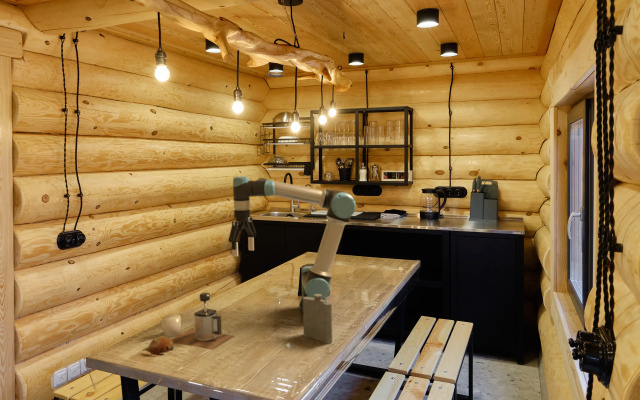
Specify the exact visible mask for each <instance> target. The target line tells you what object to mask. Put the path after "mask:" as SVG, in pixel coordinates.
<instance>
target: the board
mask: <svg viewBox="0 0 640 400" xmlns="http://www.w3.org/2000/svg"><path fill="white" fill-rule="evenodd" d="M234 337H235V335H231V334H226V333H222V334H220V335H218V337H217V338H216V339H214V340H211V341H197V340H196V339H195V328H193V327H192V328H191V329H188V330H187V331H184V332H181V334H180V335H179V336H176V337H172V339H171V338H170V339H171V340H172V341H173V343H176V344H177V343H178V344H181V345H187V346H193V347H197V348H202V349H207V350H212V351H214V349H217V348H218V347H221V345H223V344H224V343H226V342H228V341H229V340H231V339H232V338H234Z"/></svg>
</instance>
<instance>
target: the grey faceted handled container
mask: <svg viewBox="0 0 640 400" xmlns="http://www.w3.org/2000/svg"><path fill="white" fill-rule="evenodd" d="M206 309H207V313H204V308H202V309H200V310H198V311H195V312H194V313H193V319H194V320H193V321H194V329H195V339H196V340H197V341H211V340H214V339H216V338H217V337H218V335H220V334H223V333H222V331H223V330H222V316H221V315H218V312H217V309H213V308H206Z"/></svg>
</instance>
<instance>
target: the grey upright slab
mask: <svg viewBox="0 0 640 400" xmlns="http://www.w3.org/2000/svg"><path fill="white" fill-rule="evenodd" d="M314 297H315V298H312V297H303V313H302V314H303V316H302V317H303V321H302V322H303V337H306V338H312V339H315V340H318V341H320V342H323V343H324V344H327V345H328V344H329V345H330V344H332V343H333V305H332V302H330V301H327V300H326V301H325V300H323V299H322V298H321V297H322V294H315V295H314Z"/></svg>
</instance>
